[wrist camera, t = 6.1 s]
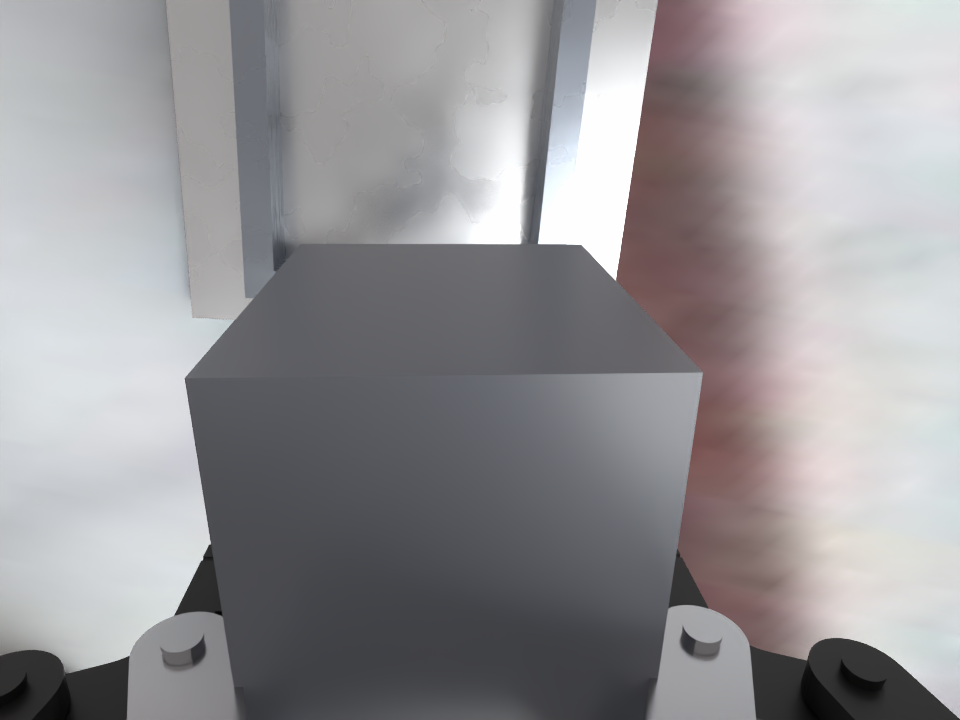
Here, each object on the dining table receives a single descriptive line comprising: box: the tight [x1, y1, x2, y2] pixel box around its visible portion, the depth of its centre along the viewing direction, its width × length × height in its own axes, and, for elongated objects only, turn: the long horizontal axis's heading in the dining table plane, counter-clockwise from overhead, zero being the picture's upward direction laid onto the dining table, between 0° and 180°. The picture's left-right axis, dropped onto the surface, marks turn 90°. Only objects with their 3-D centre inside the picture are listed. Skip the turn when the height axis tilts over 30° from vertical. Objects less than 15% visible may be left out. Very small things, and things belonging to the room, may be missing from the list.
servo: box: [185, 244, 703, 720], centre depth 11 cm, size 5×10×7 cm, turn 179°
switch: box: [166, 0, 658, 320], centre depth 23 cm, size 16×18×3 cm
